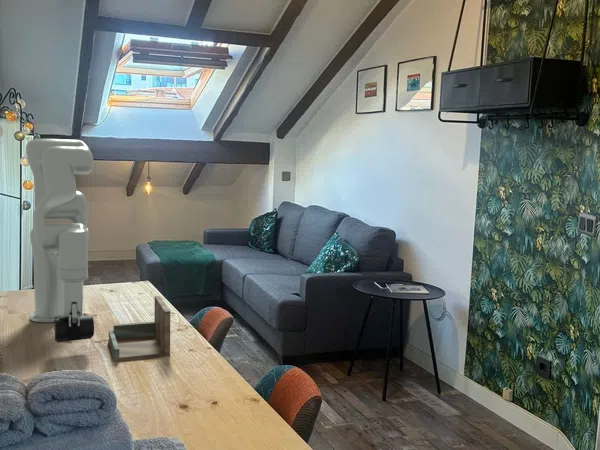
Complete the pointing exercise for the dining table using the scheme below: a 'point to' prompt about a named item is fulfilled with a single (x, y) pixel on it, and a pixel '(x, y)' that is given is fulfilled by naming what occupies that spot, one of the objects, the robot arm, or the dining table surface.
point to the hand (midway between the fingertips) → (73, 334)
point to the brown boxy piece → (143, 336)
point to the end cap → (63, 324)
